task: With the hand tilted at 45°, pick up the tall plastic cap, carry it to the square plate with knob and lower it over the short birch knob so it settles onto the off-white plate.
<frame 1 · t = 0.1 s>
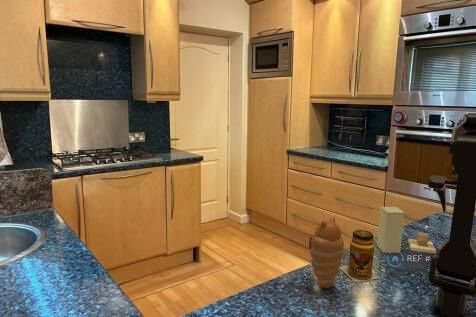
hand: (463, 215, 101), 15 cm above the countertop, tool pointing down, fingers open, 9 cm apart
square plate with knob: (421, 247, 114), on the countertop
cap: (388, 249, 112), on the countertop
condiment: (358, 273, 97), on the countertop
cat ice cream: (324, 287, 90), on the countertop
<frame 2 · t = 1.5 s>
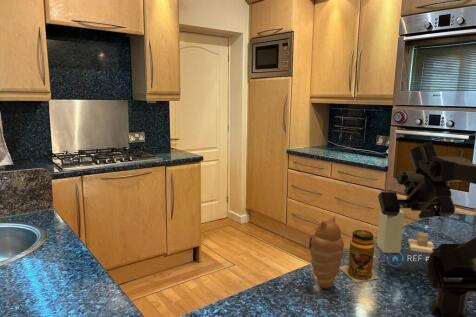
hand: (403, 216, 102), 13 cm above the countertop, tool tilted 45°, fingers open, 9 cm apart
nothing on the countertop moved.
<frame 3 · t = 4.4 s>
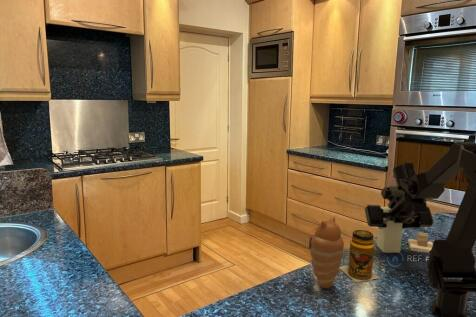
hand: (388, 227, 112), 7 cm above the countertop, tool tilted 45°, fingers closed on cap, 6 cm apart
cap: (388, 248, 112), on the countertop, touching gripper
everything else where it was.
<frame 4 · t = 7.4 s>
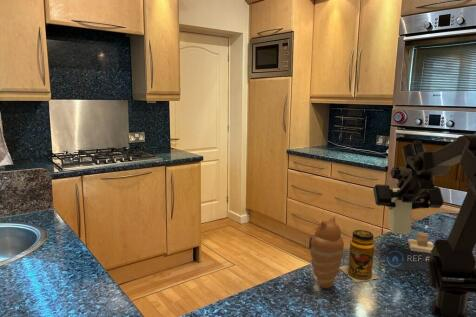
hand: (398, 208, 112), 13 cm above the countertop, tool tilted 45°, fingers closed on cap, 5 cm apart
cap: (399, 230, 112), point 6 cm above the countertop, touching gripper
everything else where it was.
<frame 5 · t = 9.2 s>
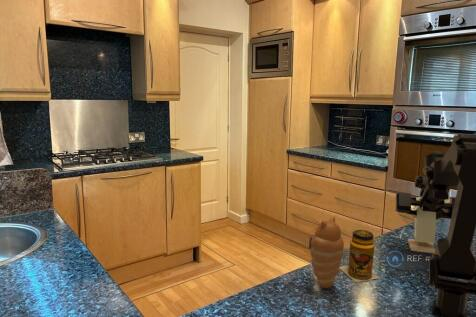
hand: (424, 217, 113), 10 cm above the countertop, tool tilted 45°, fingers closed on cap, 5 cm apart
cap: (424, 239, 113), point 3 cm above the countertop, touching gripper
everything else where it was.
when the fingers open (9 cm above the countertop, at t = 10.4 s): cap stays where it is, resting on square plate with knob.
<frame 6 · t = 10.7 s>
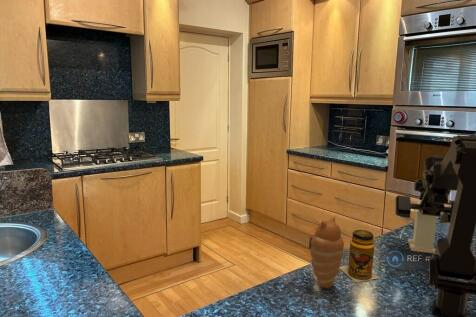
hand: (423, 220, 113), 9 cm above the countertop, tool tilted 45°, fingers open, 9 cm apart
cap: (422, 244, 113), point 1 cm above the countertop, touching square plate with knob
everything else where it was.
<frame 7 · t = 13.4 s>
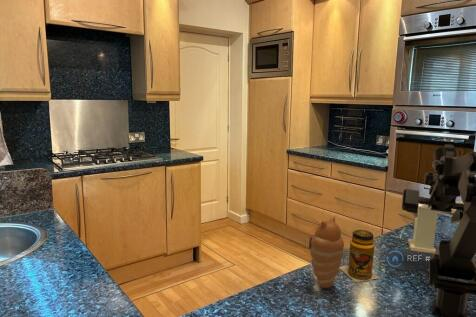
hand: (433, 218, 104), 12 cm above the countertop, tool tilted 45°, fingers open, 9 cm apart
nothing on the countertop moved.
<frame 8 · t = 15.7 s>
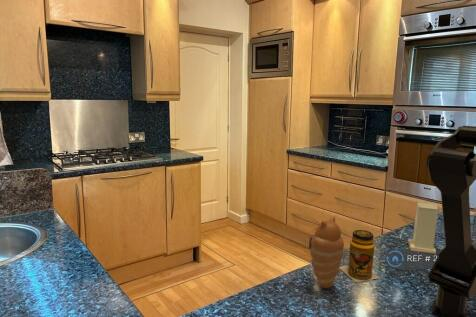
nothing on the countertop moved.
at the end: cap 0.2 cm from the square plate with knob (horizontally); cap point 1.0 cm above the countertop; cap tilted 0° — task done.
